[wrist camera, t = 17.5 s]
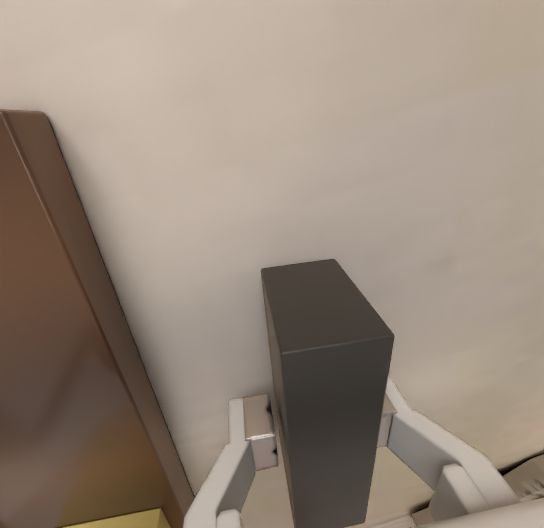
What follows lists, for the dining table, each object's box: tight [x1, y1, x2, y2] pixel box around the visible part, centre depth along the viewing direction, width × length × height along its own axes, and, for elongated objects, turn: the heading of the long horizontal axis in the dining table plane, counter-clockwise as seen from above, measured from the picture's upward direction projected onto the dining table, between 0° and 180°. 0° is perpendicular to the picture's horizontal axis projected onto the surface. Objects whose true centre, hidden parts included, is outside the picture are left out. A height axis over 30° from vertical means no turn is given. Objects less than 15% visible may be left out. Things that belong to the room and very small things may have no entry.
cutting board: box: [0, 109, 194, 528], centre depth 12 cm, size 28×14×2 cm, turn 4°
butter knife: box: [261, 259, 394, 528], centre depth 12 cm, size 19×3×4 cm, turn 4°
